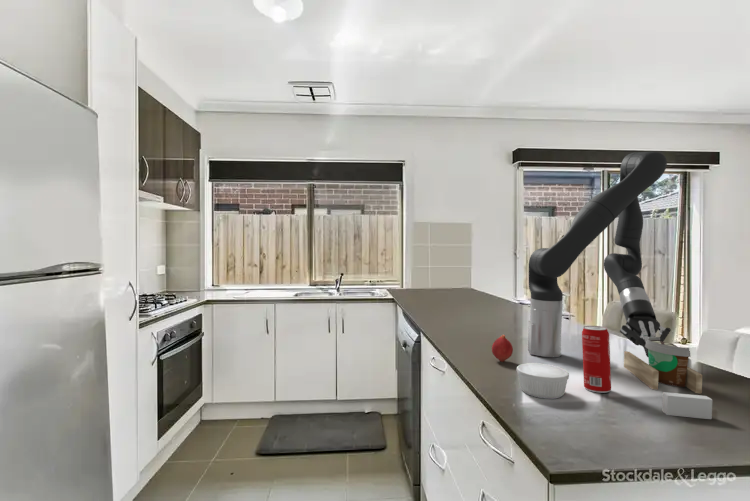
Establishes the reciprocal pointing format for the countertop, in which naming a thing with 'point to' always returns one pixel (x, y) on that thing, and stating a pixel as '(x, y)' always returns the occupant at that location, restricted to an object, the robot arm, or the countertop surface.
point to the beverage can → (596, 359)
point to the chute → (651, 374)
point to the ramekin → (542, 380)
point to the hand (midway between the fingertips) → (654, 358)
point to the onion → (502, 348)
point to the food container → (668, 361)
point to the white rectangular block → (687, 405)
